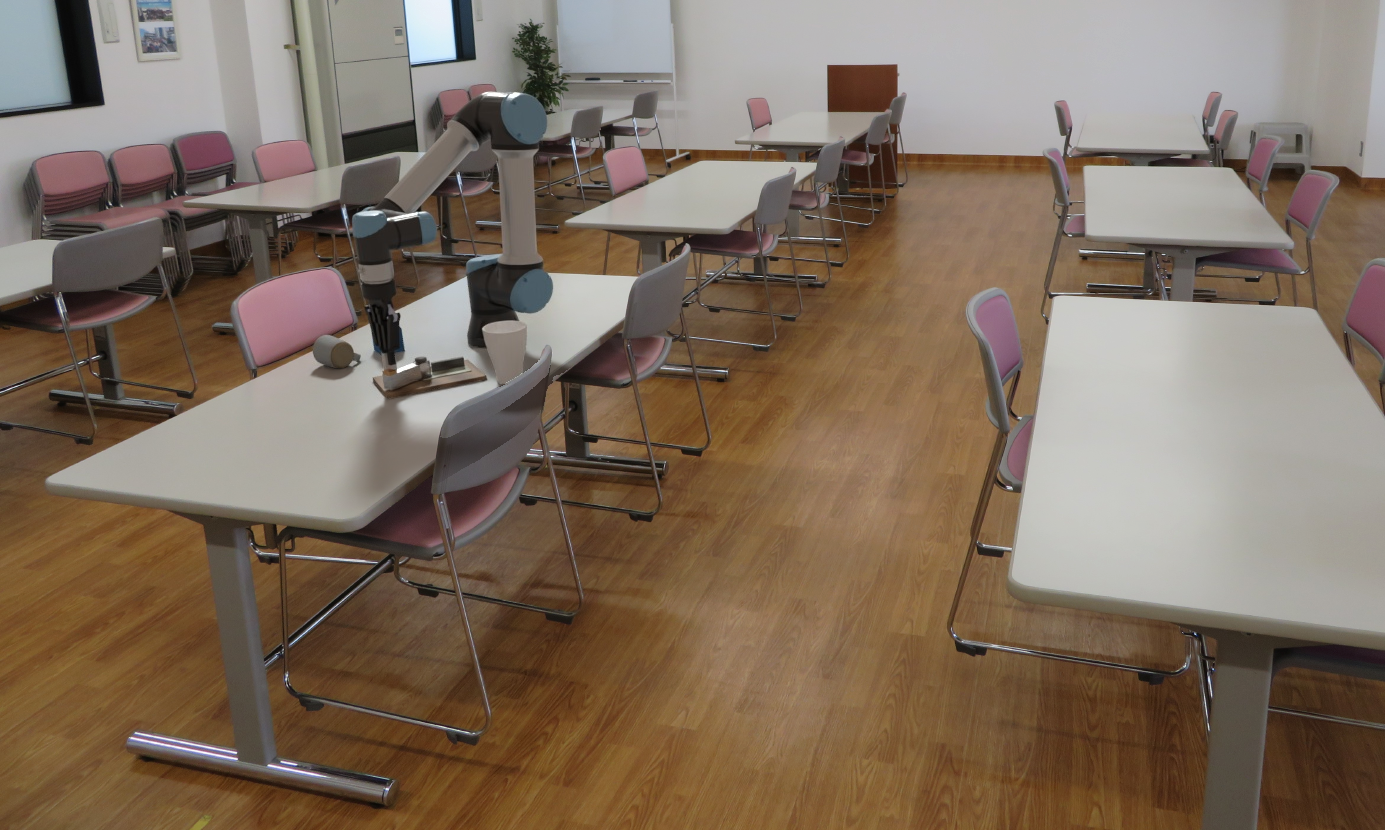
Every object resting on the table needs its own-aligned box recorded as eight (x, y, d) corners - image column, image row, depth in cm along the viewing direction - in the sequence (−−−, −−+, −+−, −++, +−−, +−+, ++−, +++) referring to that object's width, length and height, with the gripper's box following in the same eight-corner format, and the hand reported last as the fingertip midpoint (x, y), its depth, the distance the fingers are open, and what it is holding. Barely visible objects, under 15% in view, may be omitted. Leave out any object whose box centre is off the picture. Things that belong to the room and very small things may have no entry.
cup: (504, 371, 263) (499, 318, 258) (540, 376, 258) (535, 322, 253) (479, 384, 254) (473, 330, 249) (515, 390, 250) (510, 335, 245)
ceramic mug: (334, 372, 267) (329, 343, 264) (314, 367, 271) (309, 338, 269) (368, 361, 275) (364, 333, 272) (349, 356, 279) (344, 328, 277)
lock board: (468, 363, 270) (465, 341, 268) (486, 379, 257) (484, 356, 255) (373, 381, 259) (369, 358, 257) (387, 398, 247) (384, 375, 245)
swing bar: (423, 372, 260) (421, 355, 258) (434, 374, 258) (432, 357, 256) (382, 388, 250) (379, 370, 248) (393, 390, 248) (391, 373, 246)
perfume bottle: (404, 351, 282) (398, 307, 277) (382, 355, 279) (375, 311, 274) (396, 345, 287) (390, 302, 282) (374, 350, 283) (367, 306, 279)
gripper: (349, 278, 245) (363, 374, 254) (376, 288, 236) (390, 387, 245) (378, 272, 250) (392, 366, 259) (406, 281, 241) (419, 378, 250)
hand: (391, 376), depth 252 cm, fingers closed
